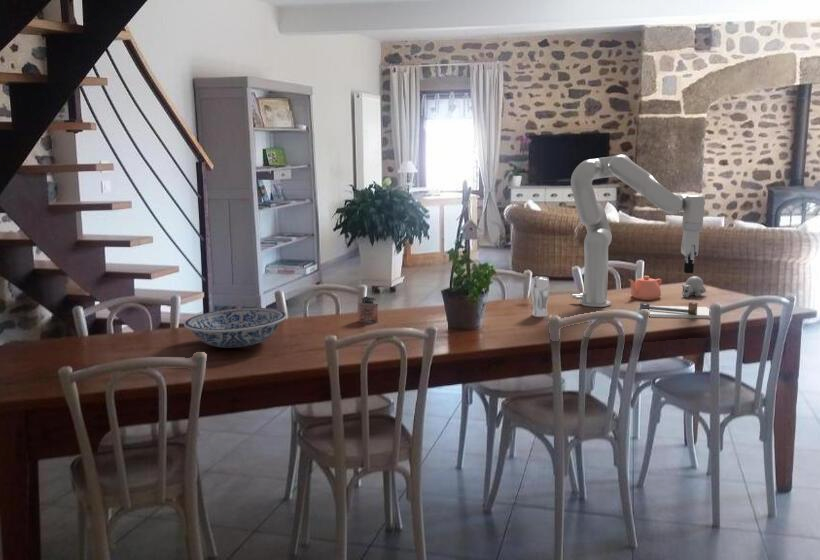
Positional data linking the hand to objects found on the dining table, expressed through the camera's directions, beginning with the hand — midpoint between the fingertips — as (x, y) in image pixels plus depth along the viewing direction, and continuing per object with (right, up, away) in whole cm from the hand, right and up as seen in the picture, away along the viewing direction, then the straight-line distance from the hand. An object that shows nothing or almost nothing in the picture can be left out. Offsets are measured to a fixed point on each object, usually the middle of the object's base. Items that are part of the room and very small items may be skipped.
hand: (688, 272), depth 299 cm
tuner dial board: (-6, -16, -2) cm, 17 cm away
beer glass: (-59, -17, -2) cm, 62 cm away
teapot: (-9, -11, +29) cm, 32 cm away
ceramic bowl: (-170, -25, -39) cm, 176 cm away
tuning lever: (-10, -15, -4) cm, 18 cm away
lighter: (-126, -19, -8) cm, 128 cm away
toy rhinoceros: (+12, -10, +30) cm, 34 cm away
